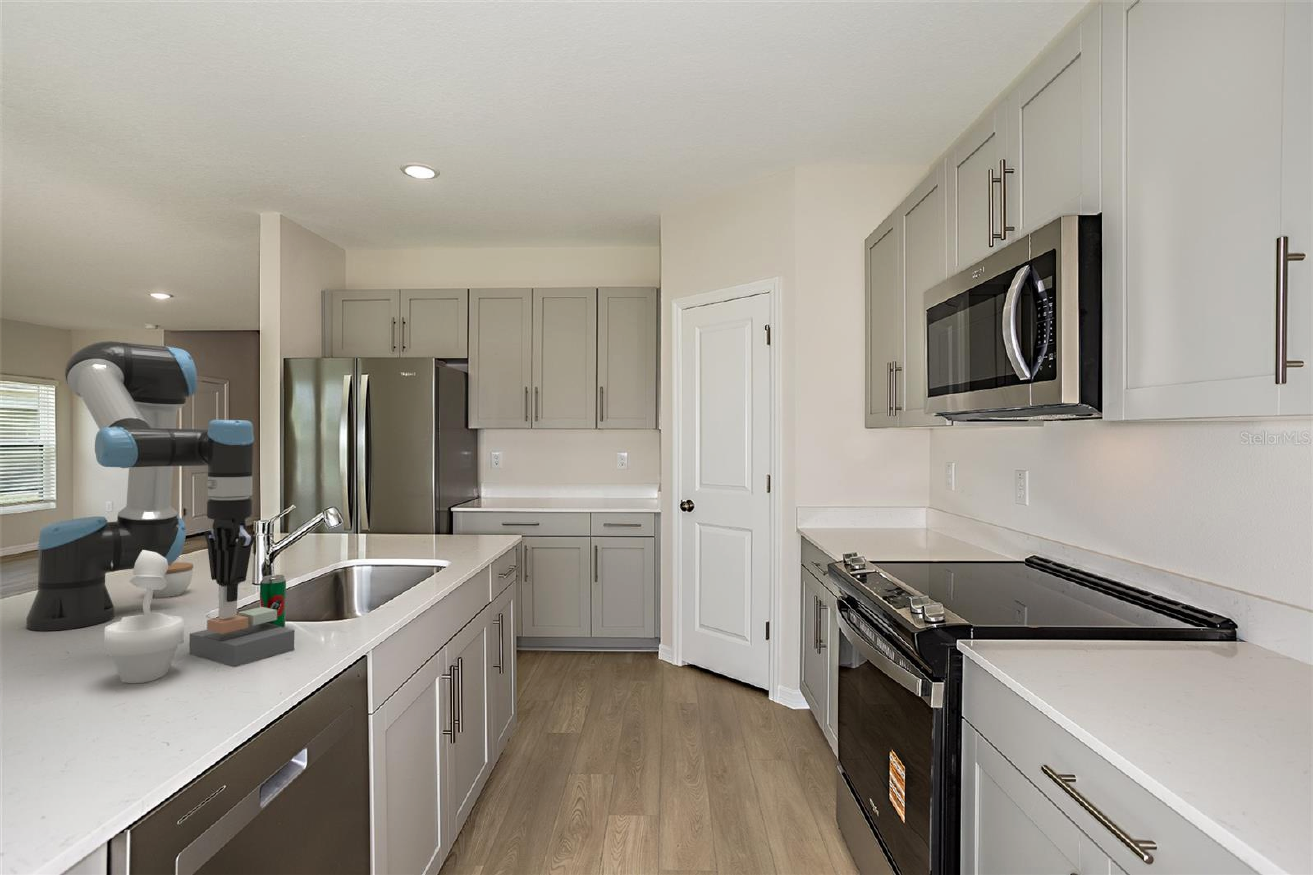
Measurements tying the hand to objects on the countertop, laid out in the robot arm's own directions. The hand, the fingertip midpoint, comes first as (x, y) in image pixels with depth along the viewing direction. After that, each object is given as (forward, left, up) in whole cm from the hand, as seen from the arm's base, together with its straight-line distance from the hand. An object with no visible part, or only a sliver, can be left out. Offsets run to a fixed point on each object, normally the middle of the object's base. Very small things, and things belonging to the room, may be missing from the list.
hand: (227, 617), depth 133 cm
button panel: (0, +3, -8) cm, 8 cm away
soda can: (-9, +15, -8) cm, 19 cm away
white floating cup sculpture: (0, -15, -8) cm, 17 cm away
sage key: (0, +6, -2) cm, 6 cm away
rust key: (0, 0, -2) cm, 2 cm away
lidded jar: (-63, +21, -8) cm, 67 cm away
